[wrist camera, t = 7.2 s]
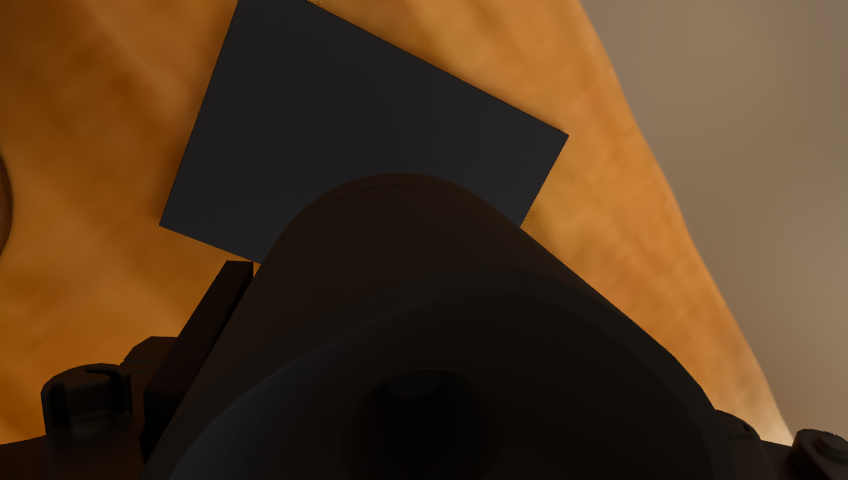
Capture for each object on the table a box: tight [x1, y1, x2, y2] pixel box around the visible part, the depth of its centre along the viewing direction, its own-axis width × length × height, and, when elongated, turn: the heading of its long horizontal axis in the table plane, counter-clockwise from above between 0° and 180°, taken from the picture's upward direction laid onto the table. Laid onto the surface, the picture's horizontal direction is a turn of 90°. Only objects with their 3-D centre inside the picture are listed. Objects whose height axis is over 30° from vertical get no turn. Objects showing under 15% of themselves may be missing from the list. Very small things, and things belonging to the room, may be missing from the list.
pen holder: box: [138, 172, 737, 480], centre depth 13 cm, size 9×9×10 cm
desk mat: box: [159, 0, 569, 264], centre depth 31 cm, size 20×15×1 cm
